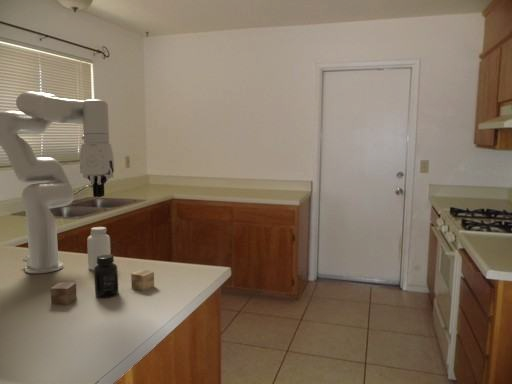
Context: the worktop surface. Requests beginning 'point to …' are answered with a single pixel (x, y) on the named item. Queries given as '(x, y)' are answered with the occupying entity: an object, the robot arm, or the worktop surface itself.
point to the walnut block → (63, 293)
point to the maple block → (142, 280)
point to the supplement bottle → (106, 277)
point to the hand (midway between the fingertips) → (98, 196)
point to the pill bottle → (97, 245)
